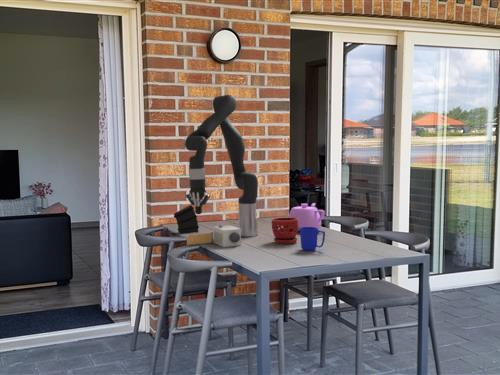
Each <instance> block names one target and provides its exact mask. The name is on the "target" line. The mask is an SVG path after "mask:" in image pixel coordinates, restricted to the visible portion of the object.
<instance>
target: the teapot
mask: <svg viewBox="0 0 500 375" xmlns="http://www.w3.org/2000/svg"><path fill="white" fill-rule="evenodd" d="M315 206H316V202H313V203H312V204H311V205H310V206H309V205H308V203H301V204H300V206H294V207H292V208H291V210H290V211H289V214H288V218H297V219H298V232H300V228H302V227H315V228H318V230H319V229H320V228H321V226H322V220H323V219H324V217H325V215H326V211H325V210H323V209H318V208H317V207H315Z"/></svg>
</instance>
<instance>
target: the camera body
mask: <svg viewBox="0 0 500 375" xmlns="http://www.w3.org/2000/svg"><path fill="white" fill-rule="evenodd" d="M213 243H214V244H217V245H219V246H220V247H223V248H225V247H226V248H227V247H238V246H241V245H242V236H241V229H240V228H239V227H236V226H233V225H222V224H219V225H216V226H213Z"/></svg>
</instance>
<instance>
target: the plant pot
mask: <svg viewBox="0 0 500 375" xmlns="http://www.w3.org/2000/svg"><path fill="white" fill-rule="evenodd" d="M271 228H272V230H271V231H272V234H273V236H274V238H273V241H274V242H275V243H276V244H281V245H282V244H283V245H284V244H285V245H286V244H287V245H291V244H294V243H296V242H297V241H298V238H297V237H296V236H297V234H298V232H299V231H298V219H297V218H288V217H287V216H286V217H276V218H272V219H271Z"/></svg>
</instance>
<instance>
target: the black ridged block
mask: <svg viewBox="0 0 500 375" xmlns="http://www.w3.org/2000/svg"><path fill="white" fill-rule="evenodd" d="M194 208H195V207H194V206H193V205H192V204H189V205H188V206H185V207H184V208H182V209H180V210H178V211H177V212H175V213H173V217H174V218H175V220H176V224H177V227H178V228H177V232H178V233H179V234H191V233H193V232H195V233H199V228H200V226H199V222H198V214H196V212H195V209H194Z"/></svg>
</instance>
